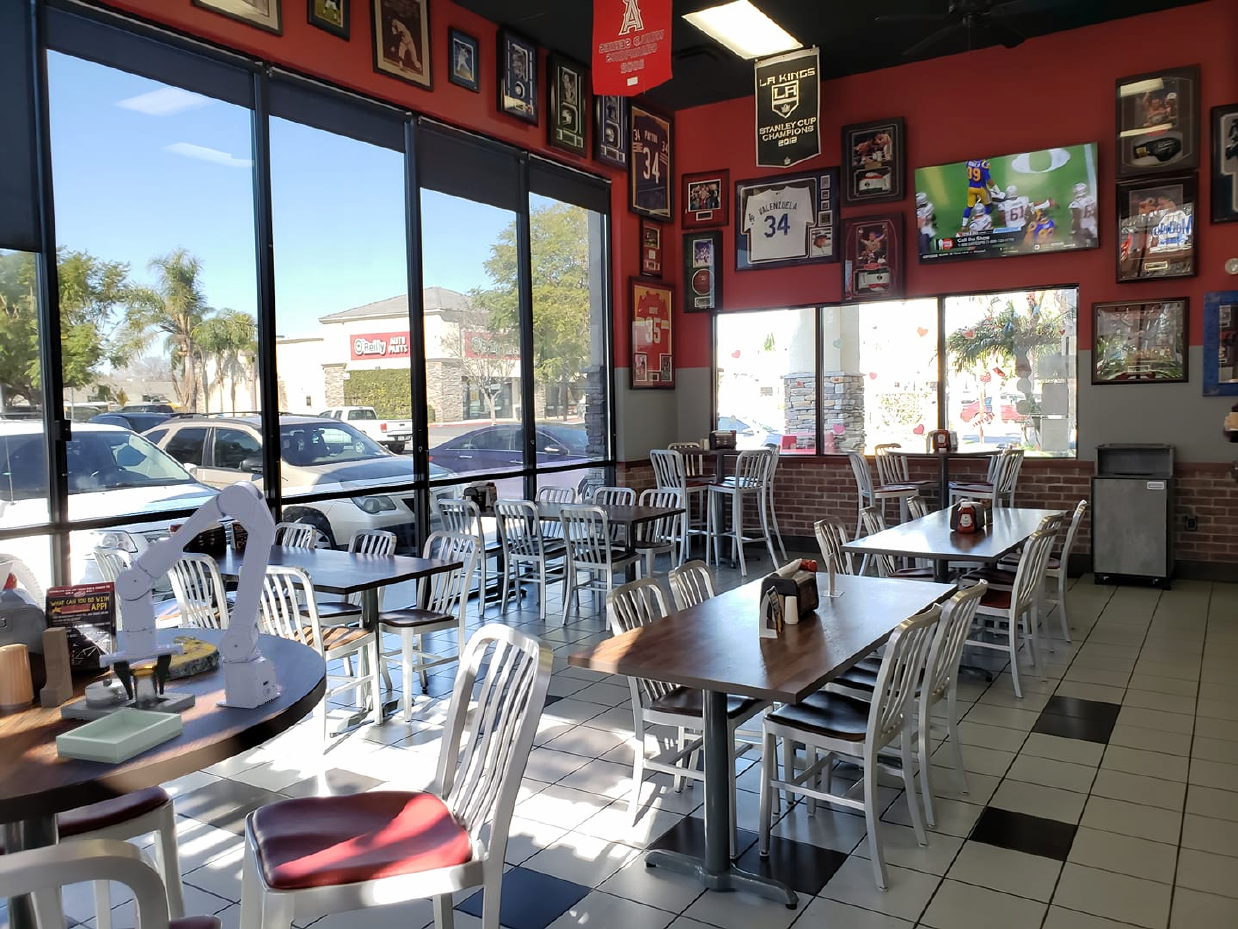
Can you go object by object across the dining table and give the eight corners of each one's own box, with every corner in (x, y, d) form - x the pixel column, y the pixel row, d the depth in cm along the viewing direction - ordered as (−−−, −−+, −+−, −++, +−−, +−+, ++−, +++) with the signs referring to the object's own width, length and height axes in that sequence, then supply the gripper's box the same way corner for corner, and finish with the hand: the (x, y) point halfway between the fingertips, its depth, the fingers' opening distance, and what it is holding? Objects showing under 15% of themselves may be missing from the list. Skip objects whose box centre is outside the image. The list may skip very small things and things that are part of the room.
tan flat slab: (220, 619, 228) (214, 650, 200) (226, 641, 229) (221, 675, 201) (159, 636, 223) (144, 670, 195) (165, 658, 224) (151, 696, 196)
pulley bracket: (195, 704, 184) (192, 675, 183) (146, 726, 173) (142, 695, 172) (113, 696, 191) (110, 668, 191) (61, 717, 180) (58, 687, 180)
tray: (182, 732, 168) (181, 714, 168) (117, 764, 155) (115, 744, 155) (125, 726, 173) (123, 708, 173) (57, 756, 160) (55, 737, 160)
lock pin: (168, 708, 182) (163, 664, 181) (147, 717, 177) (142, 672, 176) (149, 706, 183) (144, 662, 183) (128, 715, 179) (123, 670, 178)
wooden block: (57, 697, 193) (49, 627, 192) (73, 696, 193) (66, 626, 192) (41, 708, 187) (33, 636, 185) (58, 706, 187) (50, 634, 186)
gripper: (180, 618, 185) (187, 683, 187) (99, 629, 179) (106, 697, 181) (180, 625, 179) (187, 693, 180) (95, 638, 173) (103, 707, 174)
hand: (146, 696), depth 180 cm, fingers closed on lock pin, 5 cm apart
